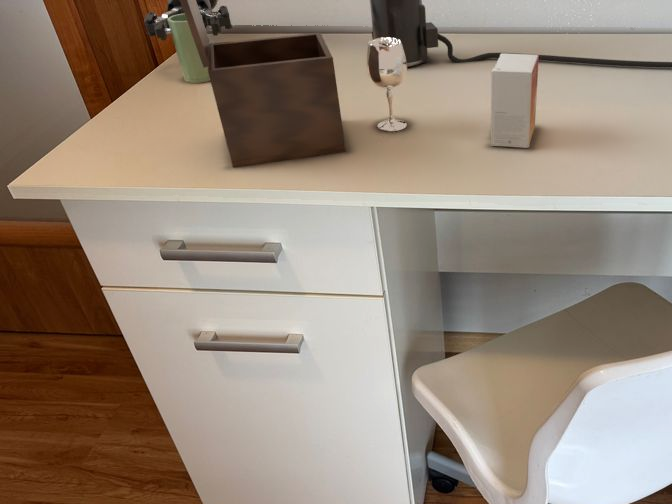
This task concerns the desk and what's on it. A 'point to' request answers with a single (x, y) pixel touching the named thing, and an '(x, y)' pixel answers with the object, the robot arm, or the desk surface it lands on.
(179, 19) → the canister
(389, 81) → the wineglass
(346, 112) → the desk surface
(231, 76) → the chest
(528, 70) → the small box
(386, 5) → the robot arm
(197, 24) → the chest lid
